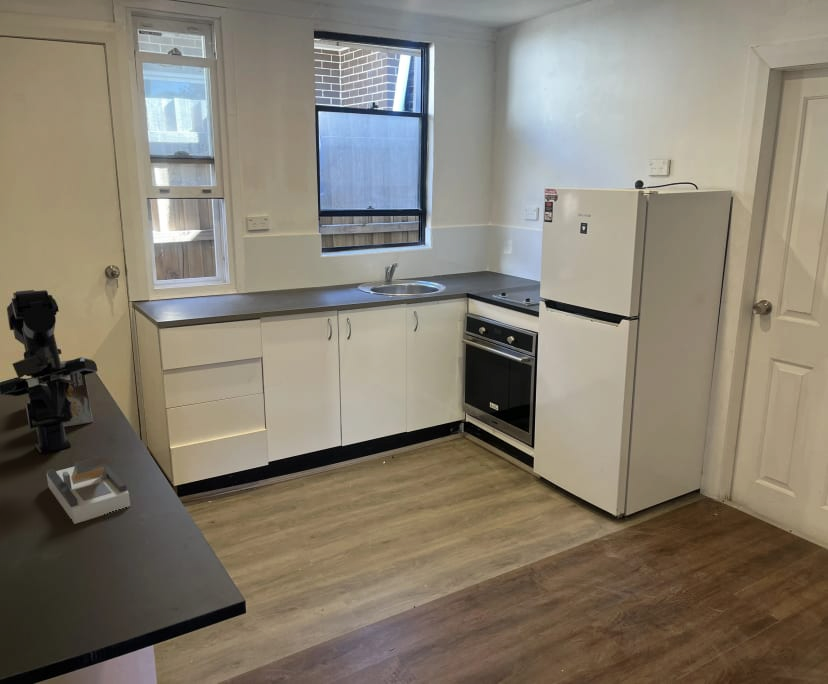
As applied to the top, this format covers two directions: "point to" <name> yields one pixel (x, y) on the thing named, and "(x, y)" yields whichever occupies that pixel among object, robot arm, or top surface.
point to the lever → (88, 469)
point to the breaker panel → (88, 494)
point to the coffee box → (78, 399)
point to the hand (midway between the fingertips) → (57, 415)
